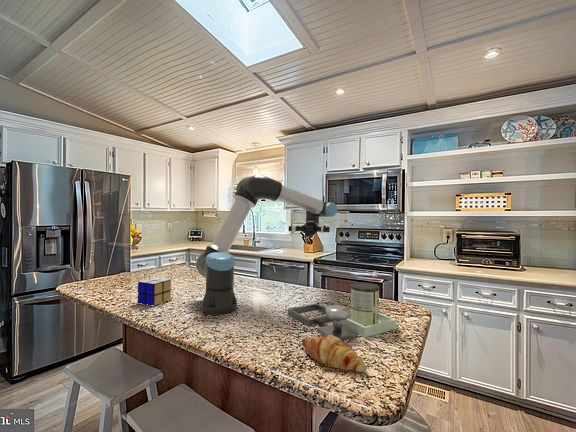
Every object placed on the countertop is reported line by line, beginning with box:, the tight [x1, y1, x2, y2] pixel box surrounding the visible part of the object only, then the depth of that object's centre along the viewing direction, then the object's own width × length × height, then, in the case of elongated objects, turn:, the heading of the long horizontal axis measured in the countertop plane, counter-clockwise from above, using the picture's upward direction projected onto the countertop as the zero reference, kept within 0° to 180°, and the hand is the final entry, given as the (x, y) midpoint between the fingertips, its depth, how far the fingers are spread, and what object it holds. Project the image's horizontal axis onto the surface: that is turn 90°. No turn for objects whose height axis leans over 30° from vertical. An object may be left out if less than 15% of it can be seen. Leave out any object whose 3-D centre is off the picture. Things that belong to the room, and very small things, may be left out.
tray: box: [342, 309, 398, 339], centre depth 106 cm, size 16×16×3 cm
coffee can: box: [350, 281, 380, 326], centre depth 106 cm, size 10×10×14 cm
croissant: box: [301, 334, 367, 373], centre depth 80 cm, size 21×10×8 cm, turn 49°
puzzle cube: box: [137, 277, 172, 306], centre depth 131 cm, size 10×10×10 cm
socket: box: [287, 303, 333, 327], centre depth 115 cm, size 15×15×2 cm
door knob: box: [316, 304, 359, 342], centre depth 101 cm, size 10×15×9 cm, turn 31°
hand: (307, 229), depth 133 cm, fingers open, 13 cm apart
